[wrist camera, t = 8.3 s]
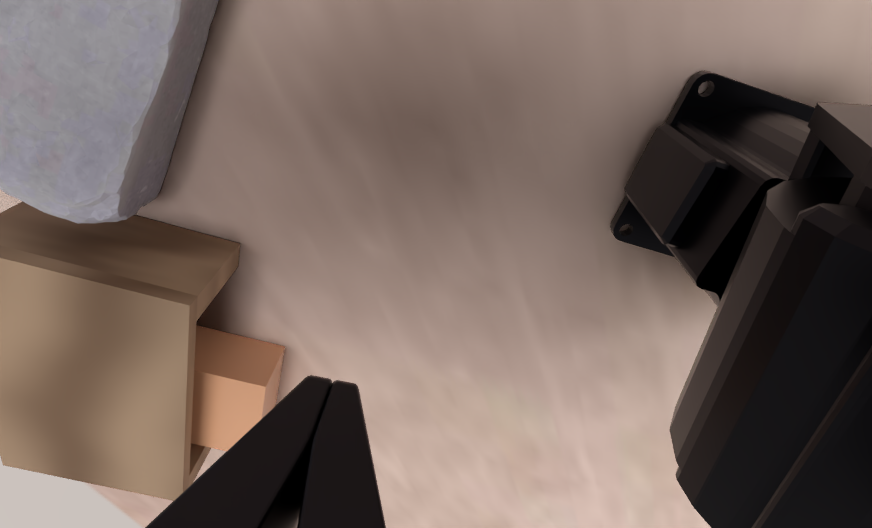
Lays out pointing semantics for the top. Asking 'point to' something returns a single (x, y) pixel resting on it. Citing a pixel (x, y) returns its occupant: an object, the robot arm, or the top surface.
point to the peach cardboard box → (232, 386)
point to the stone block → (94, 100)
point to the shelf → (103, 347)
